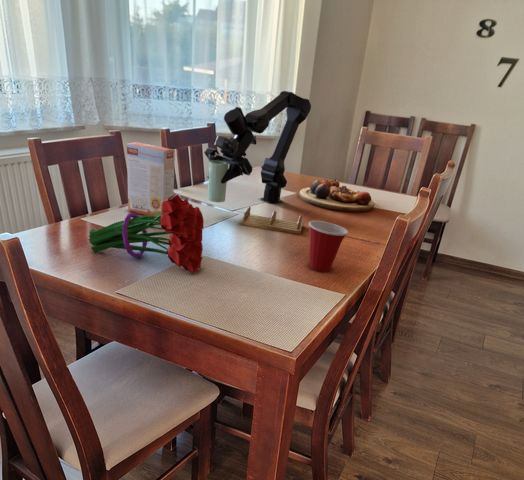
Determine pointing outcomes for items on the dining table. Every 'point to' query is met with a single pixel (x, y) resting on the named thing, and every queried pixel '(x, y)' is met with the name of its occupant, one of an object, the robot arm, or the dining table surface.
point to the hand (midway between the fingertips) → (214, 180)
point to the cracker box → (149, 177)
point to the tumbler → (217, 181)
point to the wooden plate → (336, 196)
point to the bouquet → (172, 222)
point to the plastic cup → (324, 244)
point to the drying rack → (272, 223)
